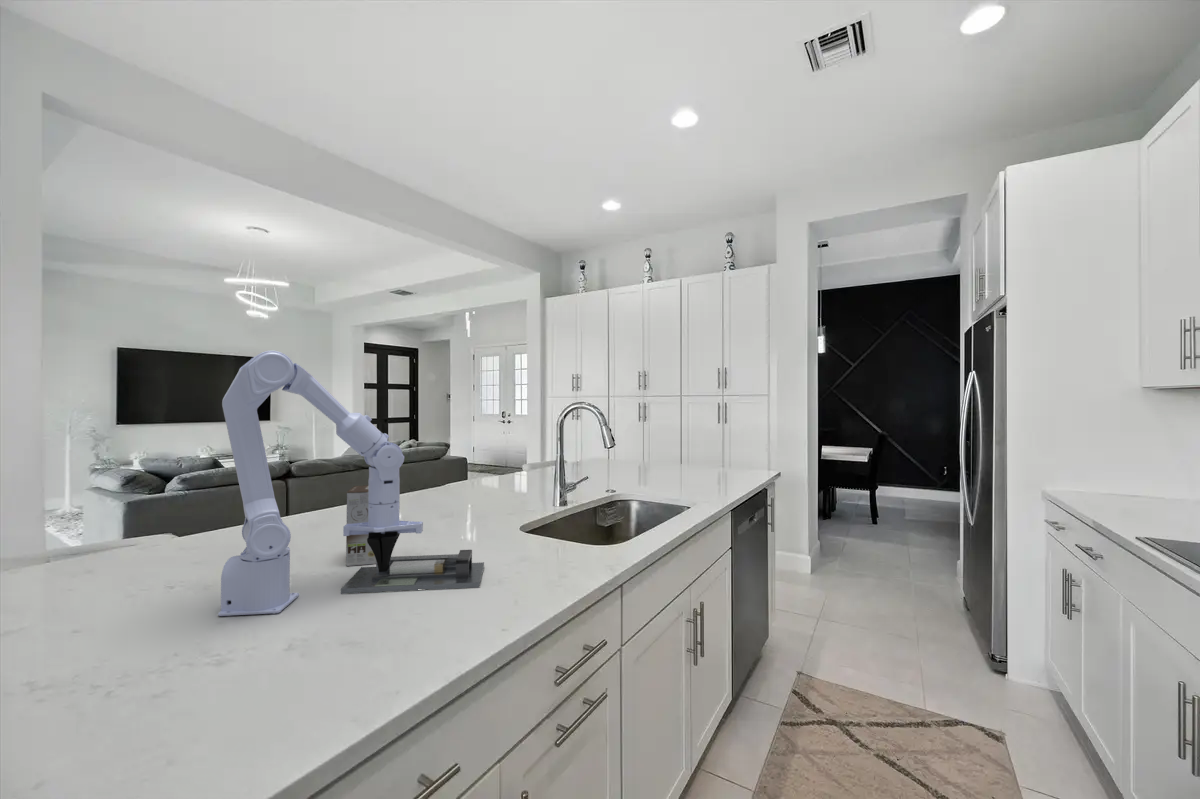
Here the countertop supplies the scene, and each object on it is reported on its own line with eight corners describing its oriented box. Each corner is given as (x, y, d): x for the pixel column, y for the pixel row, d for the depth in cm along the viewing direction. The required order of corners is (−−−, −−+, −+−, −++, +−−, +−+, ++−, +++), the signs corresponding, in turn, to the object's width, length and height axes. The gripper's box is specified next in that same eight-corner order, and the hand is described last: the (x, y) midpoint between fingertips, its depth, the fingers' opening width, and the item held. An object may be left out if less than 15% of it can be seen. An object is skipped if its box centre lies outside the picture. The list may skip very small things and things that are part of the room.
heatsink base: (340, 593, 94) (340, 569, 94) (361, 572, 106) (361, 549, 106) (479, 587, 98) (479, 563, 98) (484, 567, 110) (484, 545, 110)
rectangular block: (389, 577, 100) (389, 566, 100) (393, 572, 102) (393, 561, 102) (442, 575, 101) (442, 564, 101) (444, 570, 104) (445, 559, 104)
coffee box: (377, 564, 111) (378, 490, 111) (345, 566, 109) (345, 492, 109) (382, 552, 120) (382, 483, 120) (352, 554, 118) (352, 485, 118)
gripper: (337, 506, 96) (337, 579, 96) (418, 504, 98) (417, 575, 98) (350, 499, 103) (349, 566, 103) (424, 497, 105) (424, 563, 105)
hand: (383, 570), depth 101 cm, fingers closed
